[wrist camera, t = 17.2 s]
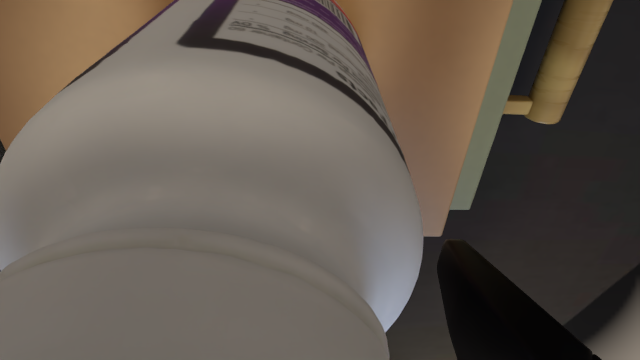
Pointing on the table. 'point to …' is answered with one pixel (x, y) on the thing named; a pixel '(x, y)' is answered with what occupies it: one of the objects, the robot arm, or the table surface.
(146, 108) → the pill bottle
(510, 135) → the table surface
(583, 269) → the table surface
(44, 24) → the cabinet
